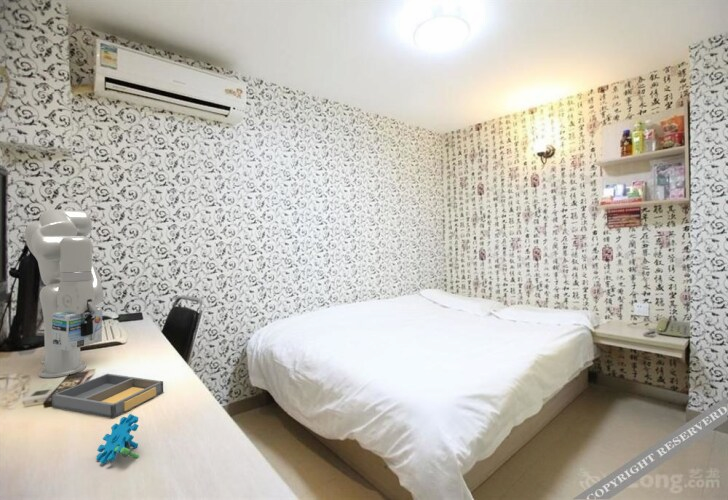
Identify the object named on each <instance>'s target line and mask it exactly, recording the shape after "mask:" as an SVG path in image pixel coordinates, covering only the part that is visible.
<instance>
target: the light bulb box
mask: <svg viewBox="0 0 728 500" xmlns="http://www.w3.org/2000/svg"><path fill="white" fill-rule="evenodd" d="M96 308H97V309H98V310H99V312H98V314H97V315H96V317H95V319H94V322H93V334H91V335H87V336H81V324H82V323H83V322H82V320H81V315H78V316H77V315H76V314H71V313H66V312H57V313H53V321H52V348H55V349H60V350H66V351H70V350H73V349H77V348H80V349H81V348H83V347H87V346H90V345H93V344H95V343H100V342H102V337H103V335H102V334H103V333H102V331H103V308H98V307H96ZM86 312H88V311H85V312H84V313H86ZM87 316H88V315H85V317H86V318H87Z"/></svg>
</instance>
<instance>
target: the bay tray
mask: <svg viewBox="0 0 728 500" xmlns="http://www.w3.org/2000/svg"><path fill="white" fill-rule="evenodd" d="M163 393H164V381H163V380H155V379H149V378H148V379H147V378H143V377H142V378H141V377H134V376H128V375H121V374H113V373H106V374H103V375H100V376H98V377H95V378H92V379H89V380H87V381H84V382H82V383H79V384H76V385H74V386H71V387H69V388H66V389H63V390H60V391H58V392H55V393H53V394H51V407H52V408H55V409H59V410H65V411H71V412H77V413H82V414H88V415H93V416H97V417H104V418H108V419H115V418H118V417H119V416H121V415H123V414H125V413H127V412H128V411H130V410H132V409H134V408H136V407H138V406H140V405H142V404H144V403H146V402H148V401H149V400H152V399H154V398H155V397H157V396H159V395H161V394H163Z"/></svg>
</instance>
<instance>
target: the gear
mask: <svg viewBox="0 0 728 500" xmlns="http://www.w3.org/2000/svg"><path fill="white" fill-rule="evenodd" d="M138 422H139V417H138V416H137V415H133V414H132V413H129V415H127V416H122V417H121V418H120V420H119V424H118V423H114V424H113V425H112V426H111V428H110V429H111V433H110V434H109V433H106V434H104V436H103V438H102V440H103V441H106V443H105V444H101V443H100V445H98V448H97V450H96V451H97V452H99V453H98V454H97V455H96V458H95V460H96V461H98V462H99V463H100V464H103V465H105V464H107V462H114V461H115V459H116V457H117V454H119V455H120V454H121V456H122V457H125V458H127V457H131V458H134V459H139V457H140V455H139V454H138V453H135V452H133V451H132V448H133V449H136V448H138V447H139V443H138V442H136V441H133V439H134V437H135V436H134V435H132V434H130V433H131V432H132V431H133V432H136V431H137V430H138V428H139V424H137V423H138Z"/></svg>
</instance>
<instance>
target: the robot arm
mask: <svg viewBox="0 0 728 500" xmlns="http://www.w3.org/2000/svg"><path fill="white" fill-rule="evenodd" d="M38 221H39V222H33V223H32V222H31V223H30V224H28V225H27V226H26V227H25V228H24V238H25V243H26V245H27V248H28V249H29V251H30V253H31V254H32V255H33V256H34V257H35V259H36V261H37V264H38V269H39V274H40V278H41V281H42V283H43V285H45V286H44V287H42V288H41V289H40V291H39V301H40V305H41V306H40V307H41V310H42V316H43V330H44V331H43V332H44V333H43V334H44V337H43V338H44V359H43V360H41V361H40V364H41V365H43V366H44V368H43V369H41V370H39V373H38V374H39V377H40V378H47V379H48V378H50V379H51V378H60V377H65V376H69V374H70V375H72V374H76V372H77V373H79V372H81V371H83V370H85V369H86V367H87V363H86V362H84V361H83V362H82V361H81V347H80V348H77V349H73V350H70V351H66V350H60V349H55V348H52V321H53V313H57V312H66V313H71V314H76V315H77V316H78V315H81V320H82V322H83V323H82V324H81V336H87V335H91V334H93V322H94V319H95V317H96V315H97V314H98V312H99V310H98V309H97V308H98V307H97V306H98V305H100V304H102V302H103V300H104V297H105V296H104V289H103V286H102V282H101V279H100V276H99V273H98V270H97V268H96V265H95V264H94V263H93V262H92V261H93V251H94V250H93V249H94V245H93V241H92V240H91V239H90V238H89V237H87V236H88V235H89V234H90V231H91V229H92V225H93V224H92V218H91V217H90V215H89V214H88V212H86V211H83V210H76V209H75V210H74V209H73V210H72V209H48V210H45V211H44V212H42V213H41V214H40V216H39V220H38ZM85 311H88V312H86V313H84V312H85ZM85 315H88V316H87V318H86V317H85Z"/></svg>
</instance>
